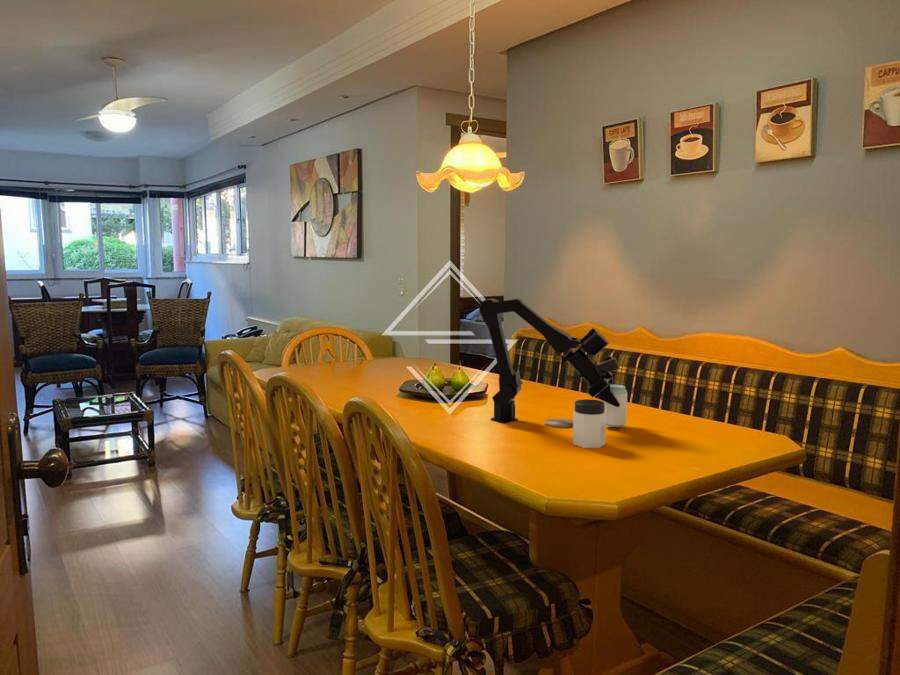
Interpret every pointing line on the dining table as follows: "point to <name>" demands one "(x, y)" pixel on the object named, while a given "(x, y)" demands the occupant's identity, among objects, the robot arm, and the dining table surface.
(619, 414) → the can
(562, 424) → the coaster
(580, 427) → the jar
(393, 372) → the dining table surface
